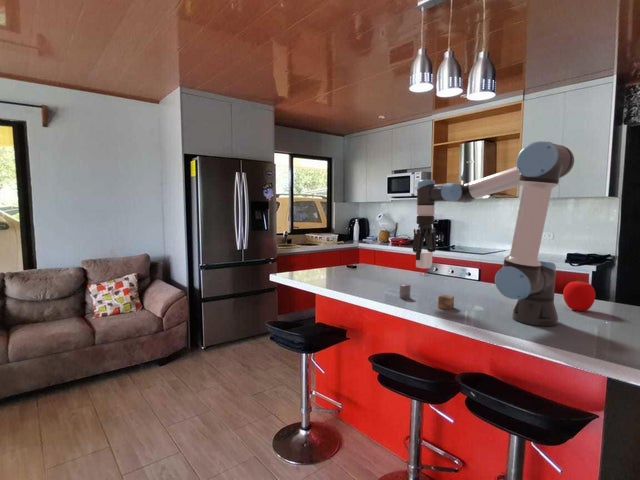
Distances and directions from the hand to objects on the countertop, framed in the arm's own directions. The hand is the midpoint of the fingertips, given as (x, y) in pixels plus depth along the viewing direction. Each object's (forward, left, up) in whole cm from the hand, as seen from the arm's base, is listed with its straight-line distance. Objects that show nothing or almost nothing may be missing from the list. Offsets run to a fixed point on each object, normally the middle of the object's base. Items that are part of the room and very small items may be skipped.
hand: (424, 266), depth 167 cm
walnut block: (-12, 0, -16) cm, 20 cm away
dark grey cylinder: (+10, 0, -16) cm, 19 cm away
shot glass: (0, 0, -1) cm, 1 cm away
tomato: (-48, -42, -16) cm, 66 cm away
